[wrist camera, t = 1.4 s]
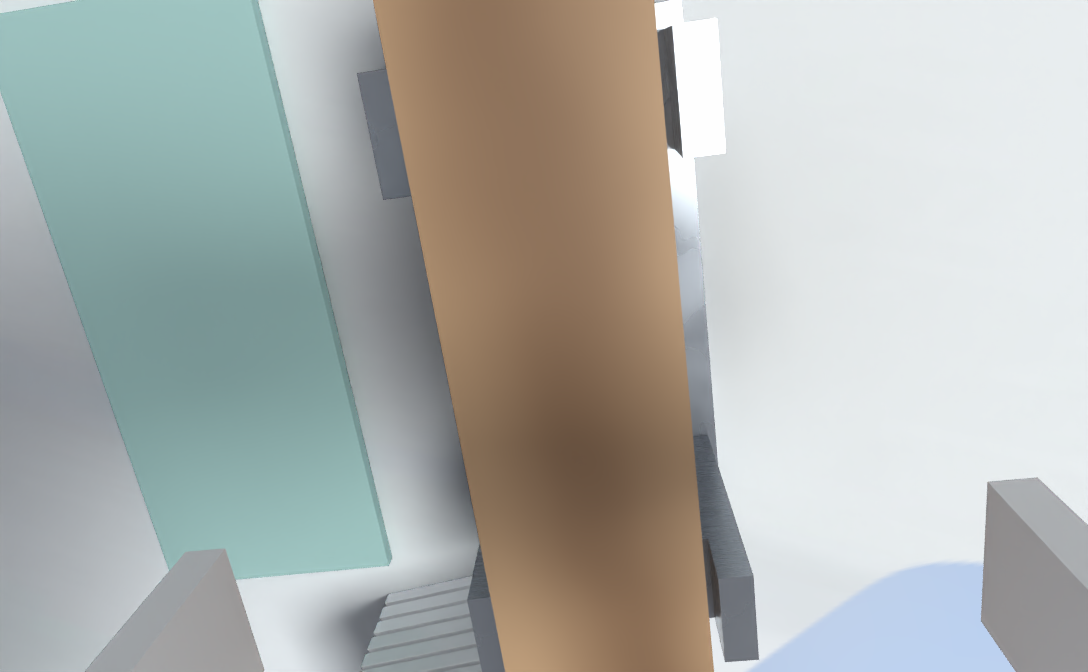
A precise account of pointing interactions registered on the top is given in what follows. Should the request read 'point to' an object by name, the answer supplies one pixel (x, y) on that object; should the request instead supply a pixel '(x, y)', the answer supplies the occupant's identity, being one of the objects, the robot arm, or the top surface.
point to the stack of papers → (425, 631)
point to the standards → (689, 135)
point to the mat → (196, 275)
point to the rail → (559, 319)
